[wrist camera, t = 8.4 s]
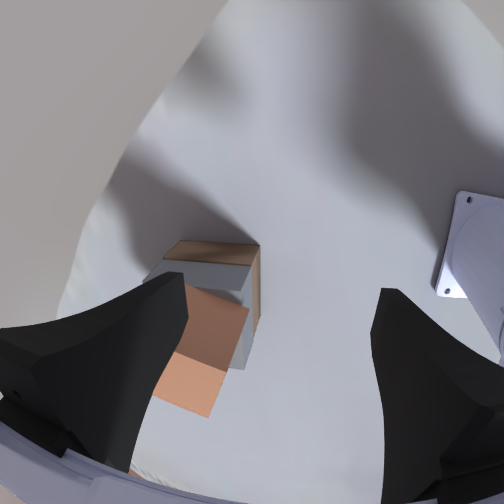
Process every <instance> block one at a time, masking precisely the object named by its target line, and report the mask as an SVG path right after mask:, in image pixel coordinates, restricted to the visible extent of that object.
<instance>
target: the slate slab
mask: <svg viewBox="0 0 504 504" xmlns="http://www.w3.org/2000/svg"><path fill="white" fill-rule="evenodd" d="M168 271H171V272H181V273H183V274H184V283H185V284H187V285H190V286H192V287H195V288H197V289H200V290H202V291H205V292H207V293H210V294H212V295H215V296H217V297H220V298H223V299H225V300H228V301H230V302H233V303H236V304H238V305H241V306H244V307H246V308H249V309H250V311H249V314H248V316H247V319H246V322H245V324H244V327H243V330H242V333H241V335H240V338H239V341H238V343H237V346H236V349H235V352H234V354H233V357H232V360H231V362H230V365H229V368H233V369H240V370H244V369H245V366H246V363H247V359H248V356H249V353H250V350H251V347H252V343H253V306H252V266H242V265H229V264H216V263H203V262H190V261H178V260H166V259H163V260H162V261H161V262H160V263H159V264H158V265H157V266H156V267H155V268H154V269H153V270H152V271H151V272H150V273H149V275H148V276H147V277H146V278H145V279H144V280H143V284H144V283H145V282H147V281H149V280H151V279H153V278H155V277H157V276H159V275H161V274H163V273H165V272H168Z"/></svg>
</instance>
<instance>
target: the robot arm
mask: <svg viewBox="0 0 504 504" xmlns="http://www.w3.org/2000/svg"><path fill="white" fill-rule="evenodd" d="M468 197H470V201H469V202H467V198H468ZM447 288H449V289H448V291H446V292H445V290H446V289H447ZM435 292H436V294H437V295H438V296H442V297H461V298H468V299H469V301H470V302H471V304H472V306H473V307H474V309H475V310H476V312H477V314H478V315H479V317H480V318H481V320H482V322H483V323H484V325H485V327H486V328H487V330H488V332H489V334H490V335H491V337H492V339H493V341H494V342H495V344H496V346H497V348H498V350H499V352H500V353H501V358H500V362H499V364H496V363H494V362H492V361H490V360H488V359H487V358H485V357H483V356H481V355H480V354H478V353H476V352H475V351H473V350H471V349H470V348H468V347H467V346H465V345H464V344H463V343H461V342H460V341H458V340H457V339H455V338H454V337H453V336H451V335H450V334H449V333H448V332H446V331H445V330H444V329H443V328H442V327H440V326H439V325H438V324H437V323H436V322H434V321H433V320H432V319H431V318H430V317H429V316H428V315H427V314H425V313H424V312H423V311H422V310H421V309H420V308H419V307H418V306H417V305H416V304H415V303H413V302H412V301H411V300H410V299H409V298H408V297H407V296H406V295H405V294H403V293H402V292H401V291H400V290H398V289H394V288H381V292H380V296H379V301H378V305H377V309H376V313H375V317H374V321H373V325H372V328H371V332H370V337H371V349H372V358H373V363H374V367H375V372H376V377H377V382H378V386H379V391H380V396H381V402H382V408H383V416H384V441H385V451H384V477H383V489H382V498H381V504H504V199H502V198H497V197H493V196H488V195H483V194H478V193H472V192H467V191H460V192H458V194H457V196H456V200H455V206H454V211H453V217H452V222H451V227H450V232H449V236H448V241H447V245H446V249H445V253H444V257H443V261H442V265H441V269H440V273H439V276H438V280H437V283H436V287H435ZM188 319H189V315H188V307H187V300H186V292H185V283H184V274H183V273H181V272H171V271H168V272H165V273H163V274H161V275H159V276H157V277H155V278H153V279H151V280H149V281H147V282H145V283H144V284H142V285H140V286H138V287H136V288H134V289H132V290H131V291H129V292H127V293H125V294H123V295H121V296H119V297H117V298H114V299H112V300H110V301H108V302H106V303H104V304H102V305H100V306H97V307H95V308H92V309H90V310H87V311H84V312H82V313H79V314H75V315H72V316H69V317H65V318H62V319H58V320H55V321H50V322H46V323H41V324H35V325H29V326H21V327H11V328H1V329H0V392H1V393H2V394H3V396H4V397H3V398H2V399H1V400H0V484H2V485H3V486H4V487H6V488H7V489H8V490H9V491H11V492H12V493H13V494H14V495H16V496H17V497H18V498H20V499H21V500H23V501H24V502H25V503H27V504H247V503H241V502H234V501H228V500H223V499H217V498H212V497H207V496H203V495H198V494H194V493H190V492H186V491H182V490H178V489H174V488H171V487H167V486H164V485H160V484H157V483H154V482H150V481H147V480H144V479H141V478H138V477H135V476H132V475H130V474H128V472H129V468H130V463H131V459H132V455H133V451H134V447H135V444H136V440H137V437H138V433H139V430H140V427H141V424H142V421H143V418H144V415H145V412H146V409H147V407H148V404H149V401H150V399H151V396H152V394H153V391H154V389H155V387H156V385H157V383H158V381H159V379H160V377H161V375H162V373H163V371H164V370H165V368H166V366H167V364H168V362H169V360H170V359H171V357H172V355H173V353H174V351H175V349H176V348H177V346H178V344H179V342H180V340H181V338H182V335H183V333H184V330H185V327H186V324H187V321H188Z"/></svg>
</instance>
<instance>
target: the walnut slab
mask: <svg viewBox="0 0 504 504" xmlns="http://www.w3.org/2000/svg"><path fill="white" fill-rule="evenodd" d="M163 258H164V259H166V260H178V261H190V262H203V263H216V264H229V265H242V266H252V306H253V338H254V335H255V331H256V328H257V325H258V322H259V318H260V245H246V244H230V243H215V242H199V241H183V240H181V241H180V242H179V243H178V244H177V245H175V246H174V247H173V248H172V249H171V250H170V251H169V252H168V253H167V254H166V255H165V256H164V257H163Z"/></svg>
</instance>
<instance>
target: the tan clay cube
mask: <svg viewBox="0 0 504 504" xmlns="http://www.w3.org/2000/svg"><path fill="white" fill-rule="evenodd" d="M185 292H186V300H187V307H188V315H189V319H188V321H187V324H186V327H185V330H184V333H183V335H182V338H181V340H180V342H179V344H178V346H177V348H176V349H175V351H174V353H173V355H172V357H171V359H170V360H169V362H168V364H167V366H166V368H165V370H164V371H163V373H162V375H161V377H160V379H159V381H158V383H157V385H156V387H155V389H154V391H153V394H152V395H154V396H156V397H158V398H160V399H163V400H165V401H167V402H170V403H172V404H174V405H177V406H179V407H181V408H184V409H186V410H189V411H191V412H194V413H196V414H199V415H201V416H204V417H207V418H208V417H209V415H210V413H211V410H212V408H213V405H214V403H215V400H216V398H217V395H218V393H219V390H220V388H221V385H222V383H223V380H224V378H225V376H226V373H227V370H228V368H229V365H230V362H231V360H232V357H233V354H234V352H235V349H236V346H237V343H238V341H239V338H240V335H241V333H242V330H243V327H244V324H245V322H246V319H247V316H248V314H249V311H250V309H249V308H246V307H244V306H241V305H238V304H236V303H233V302H230V301H228V300H225V299H223V298H220V297H217V296H215V295H212V294H210V293H207V292H205V291H202V290H200V289H197V288H195V287H192V286H190V285H187V284H185Z"/></svg>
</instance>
